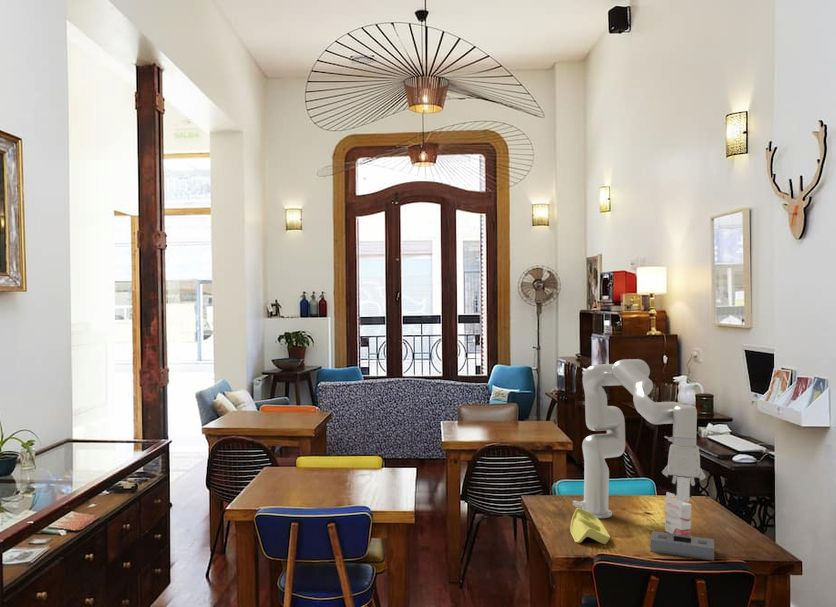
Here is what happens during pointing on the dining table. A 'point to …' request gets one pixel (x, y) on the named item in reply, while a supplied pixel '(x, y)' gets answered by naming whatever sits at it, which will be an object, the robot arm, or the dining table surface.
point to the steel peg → (683, 488)
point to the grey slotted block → (682, 545)
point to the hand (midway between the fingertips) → (683, 495)
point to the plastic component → (587, 527)
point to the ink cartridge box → (677, 516)
